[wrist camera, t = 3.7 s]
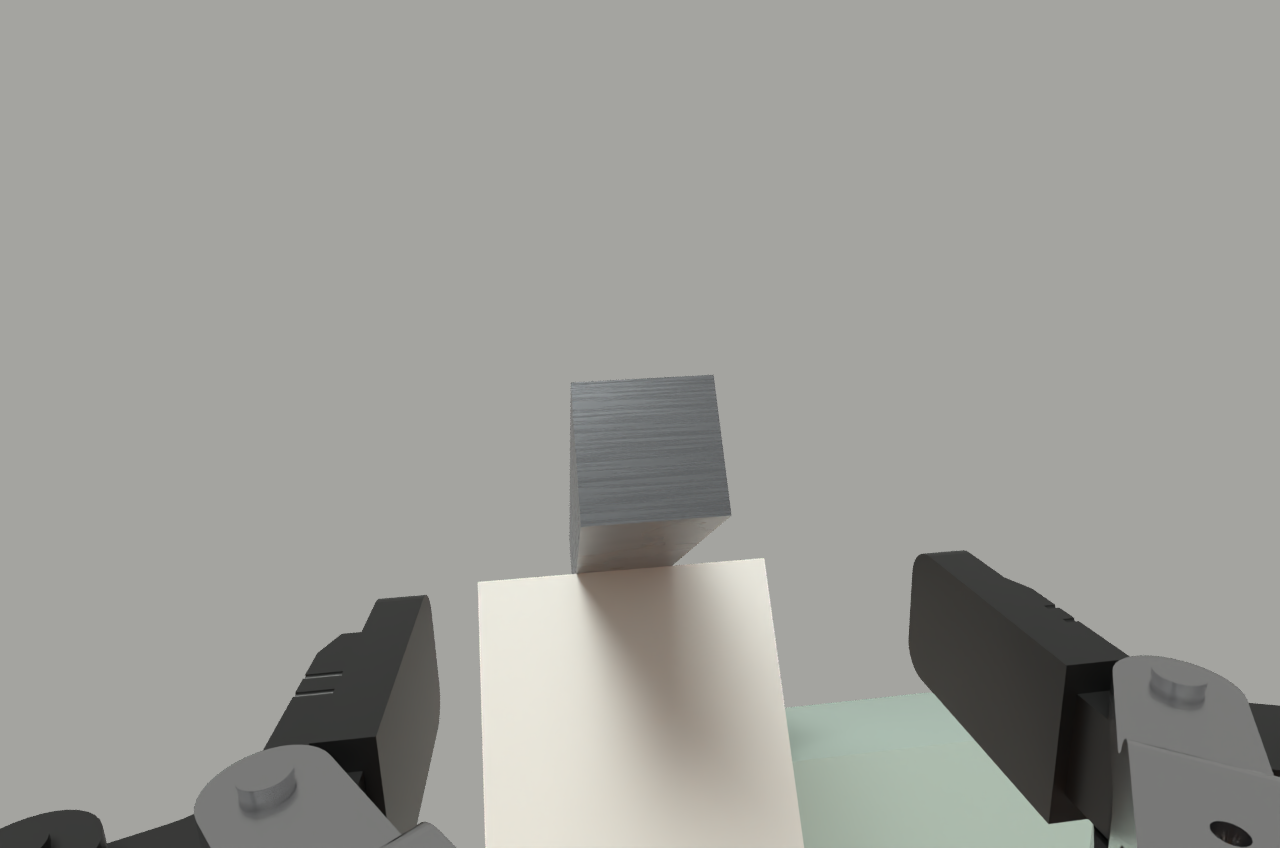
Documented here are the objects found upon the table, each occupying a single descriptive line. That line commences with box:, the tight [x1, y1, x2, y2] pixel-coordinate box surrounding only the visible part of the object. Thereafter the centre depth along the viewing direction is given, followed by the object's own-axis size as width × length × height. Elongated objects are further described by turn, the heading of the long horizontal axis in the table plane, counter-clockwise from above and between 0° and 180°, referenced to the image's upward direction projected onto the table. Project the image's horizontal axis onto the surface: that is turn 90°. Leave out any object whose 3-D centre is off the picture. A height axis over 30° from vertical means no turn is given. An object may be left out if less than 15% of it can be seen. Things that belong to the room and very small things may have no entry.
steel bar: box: [570, 375, 731, 574], centre depth 26 cm, size 22×3×3 cm, turn 5°
